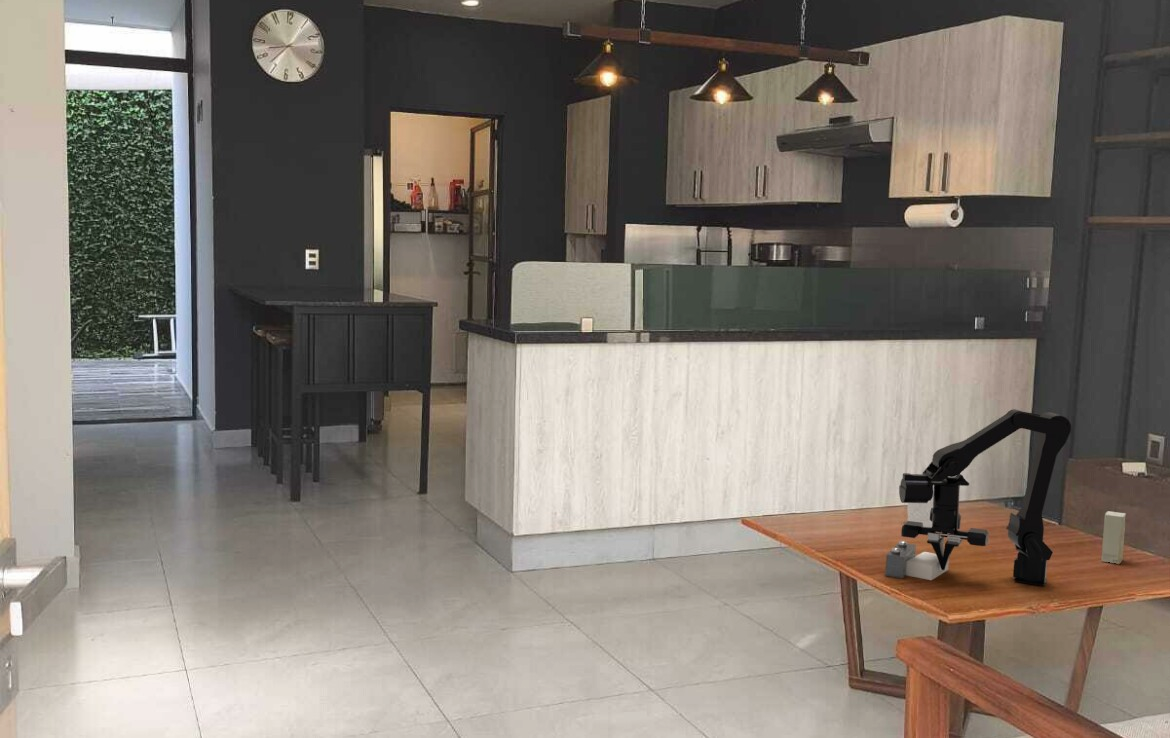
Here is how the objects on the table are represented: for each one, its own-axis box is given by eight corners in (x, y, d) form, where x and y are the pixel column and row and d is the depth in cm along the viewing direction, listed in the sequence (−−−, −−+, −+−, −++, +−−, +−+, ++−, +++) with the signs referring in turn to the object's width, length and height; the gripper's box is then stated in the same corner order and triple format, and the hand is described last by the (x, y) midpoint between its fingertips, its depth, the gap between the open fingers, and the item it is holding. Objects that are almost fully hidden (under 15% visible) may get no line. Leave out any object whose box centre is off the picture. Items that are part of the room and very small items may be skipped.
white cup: (901, 522, 311) (903, 488, 310) (927, 523, 311) (930, 488, 311) (912, 529, 303) (914, 493, 302) (939, 529, 304) (942, 494, 303)
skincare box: (1119, 564, 273) (1123, 517, 272) (1100, 561, 275) (1104, 514, 274) (1122, 559, 278) (1126, 512, 277) (1103, 556, 281) (1107, 510, 279)
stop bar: (914, 565, 264) (916, 540, 264) (902, 578, 252) (904, 553, 251) (897, 562, 266) (899, 538, 265) (885, 575, 254) (886, 550, 253)
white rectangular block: (947, 570, 261) (948, 556, 261) (931, 580, 251) (932, 566, 251) (923, 565, 265) (924, 551, 264) (905, 575, 255) (906, 561, 255)
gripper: (993, 501, 256) (990, 567, 257) (911, 493, 264) (909, 556, 266) (986, 510, 246) (983, 578, 247) (902, 501, 255) (899, 567, 256)
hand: (943, 569), depth 254 cm, fingers closed
